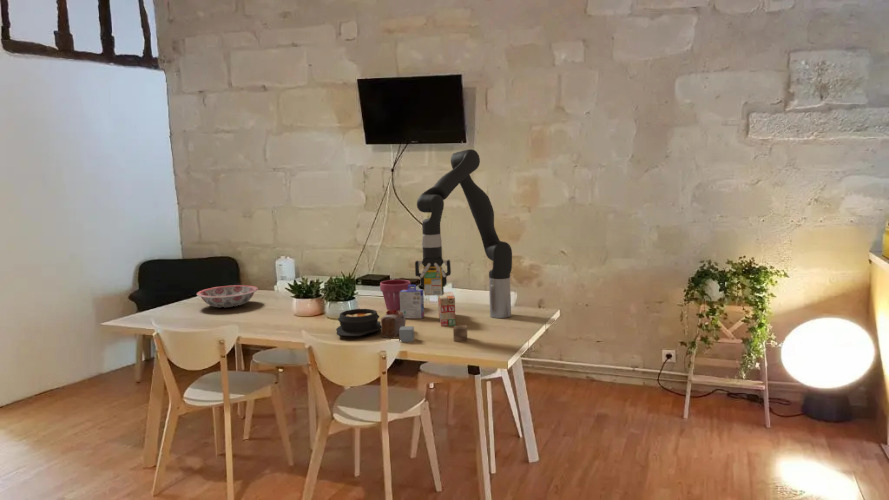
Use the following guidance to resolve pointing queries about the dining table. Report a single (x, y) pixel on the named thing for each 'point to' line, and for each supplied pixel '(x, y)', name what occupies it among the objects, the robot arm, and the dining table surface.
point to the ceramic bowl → (227, 295)
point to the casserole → (358, 322)
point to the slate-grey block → (406, 333)
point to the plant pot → (393, 292)
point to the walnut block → (460, 333)
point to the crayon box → (433, 282)
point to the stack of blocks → (447, 309)
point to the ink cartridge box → (412, 302)
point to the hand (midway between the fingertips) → (433, 286)
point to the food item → (392, 323)
